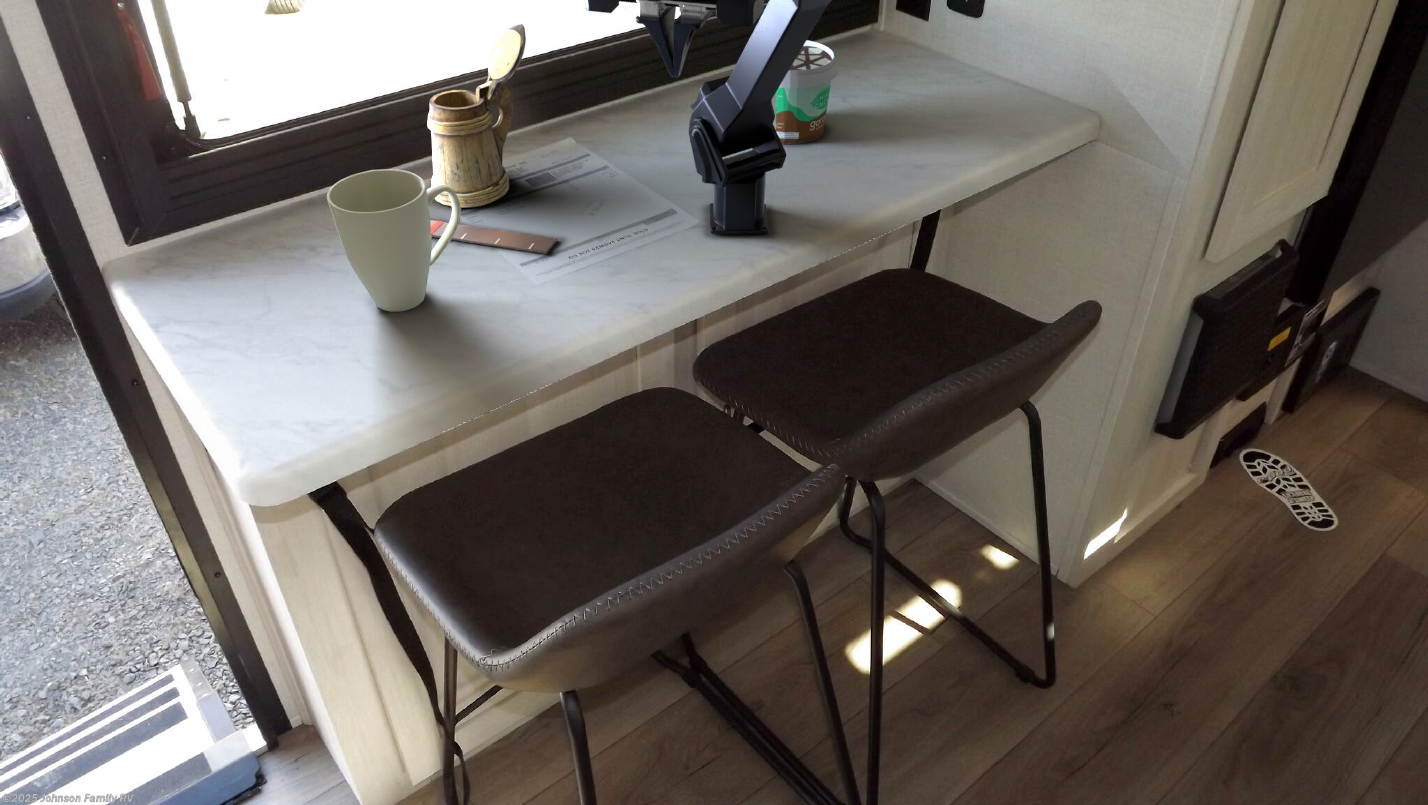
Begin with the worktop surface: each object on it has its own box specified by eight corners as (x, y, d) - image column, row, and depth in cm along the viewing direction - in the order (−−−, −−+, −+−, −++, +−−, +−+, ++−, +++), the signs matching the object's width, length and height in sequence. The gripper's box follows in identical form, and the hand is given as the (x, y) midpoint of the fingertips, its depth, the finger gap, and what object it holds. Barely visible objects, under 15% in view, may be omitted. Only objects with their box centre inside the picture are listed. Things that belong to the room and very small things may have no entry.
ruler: (557, 240, 113) (556, 238, 113) (546, 254, 111) (546, 251, 111) (392, 216, 117) (392, 214, 117) (379, 229, 115) (378, 226, 115)
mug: (434, 329, 100) (412, 218, 92) (338, 318, 101) (309, 208, 94) (474, 270, 108) (457, 165, 101) (385, 261, 110) (361, 156, 102)
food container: (818, 155, 130) (824, 77, 124) (771, 147, 132) (775, 70, 126) (843, 117, 139) (849, 43, 133) (799, 111, 141) (803, 37, 135)
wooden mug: (556, 186, 123) (541, 35, 112) (448, 215, 118) (421, 59, 106) (524, 158, 129) (507, 12, 118) (421, 184, 123) (392, 33, 112)
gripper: (778, -85, 111) (772, 59, 121) (614, -97, 115) (621, 43, 124) (754, -57, 103) (749, 95, 112) (577, -72, 106) (588, 77, 116)
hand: (675, 75), depth 116 cm, fingers closed
